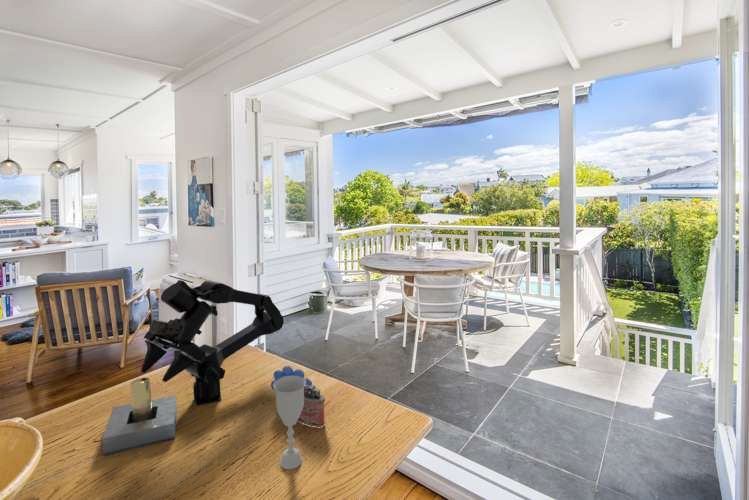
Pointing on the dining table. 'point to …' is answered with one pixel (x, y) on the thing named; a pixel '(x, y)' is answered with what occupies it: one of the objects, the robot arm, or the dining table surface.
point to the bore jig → (140, 426)
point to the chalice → (290, 414)
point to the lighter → (312, 407)
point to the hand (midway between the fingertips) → (152, 376)
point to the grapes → (289, 372)
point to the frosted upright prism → (141, 400)
